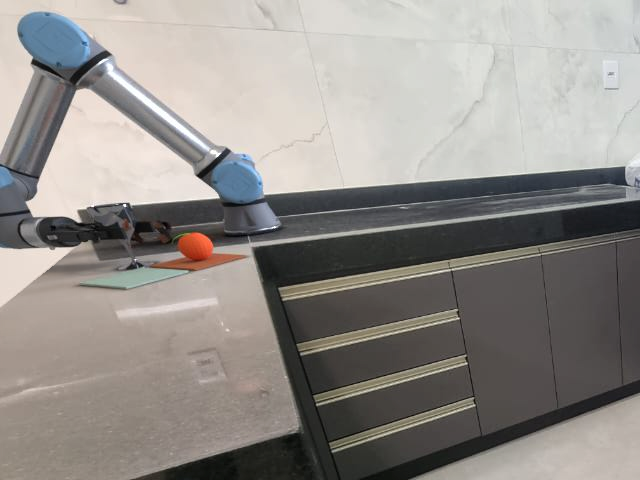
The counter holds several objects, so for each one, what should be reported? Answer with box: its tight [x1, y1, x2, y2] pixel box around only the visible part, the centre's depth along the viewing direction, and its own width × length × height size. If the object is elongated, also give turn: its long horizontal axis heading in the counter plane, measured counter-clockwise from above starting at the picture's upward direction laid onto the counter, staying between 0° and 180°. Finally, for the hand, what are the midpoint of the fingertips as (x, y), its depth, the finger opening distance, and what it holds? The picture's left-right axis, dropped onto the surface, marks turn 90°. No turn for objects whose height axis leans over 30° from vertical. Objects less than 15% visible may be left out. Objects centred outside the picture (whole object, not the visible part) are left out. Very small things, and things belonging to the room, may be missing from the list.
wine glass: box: [86, 202, 155, 271], centre depth 131 cm, size 8×8×15 cm
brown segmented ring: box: [130, 217, 174, 244], centre depth 160 cm, size 12×10×8 cm
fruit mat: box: [149, 252, 247, 272], centre depth 135 cm, size 13×16×1 cm
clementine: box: [171, 231, 214, 260], centre depth 133 cm, size 8×7×7 cm
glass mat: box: [79, 267, 189, 290], centre depth 122 cm, size 13×16×1 cm
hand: (138, 229), depth 130 cm, fingers closed on wine glass, 7 cm apart
